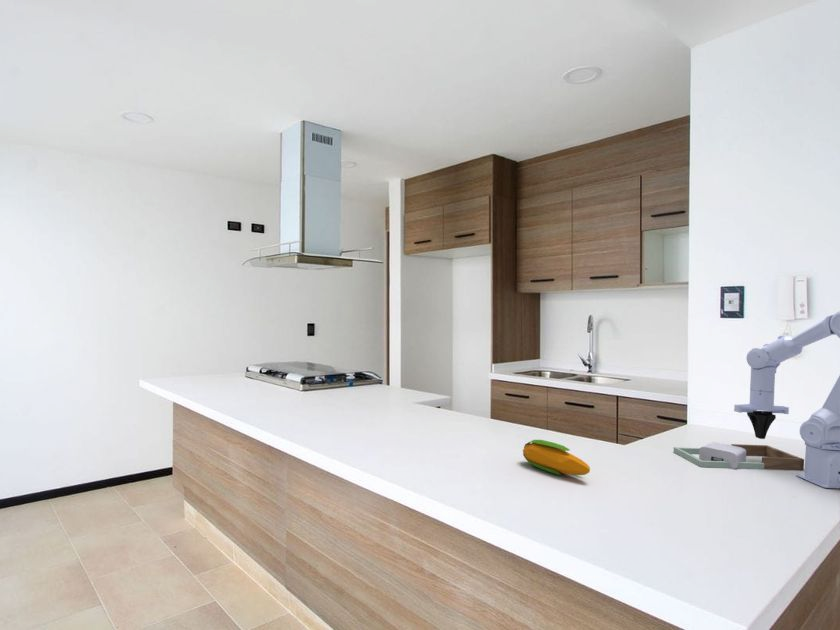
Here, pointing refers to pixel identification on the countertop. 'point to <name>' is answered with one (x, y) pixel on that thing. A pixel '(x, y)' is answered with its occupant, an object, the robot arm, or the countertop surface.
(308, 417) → the countertop surface
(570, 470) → the corn
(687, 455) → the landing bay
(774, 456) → the brown wooden u-shaped frame
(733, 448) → the charger
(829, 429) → the robot arm
